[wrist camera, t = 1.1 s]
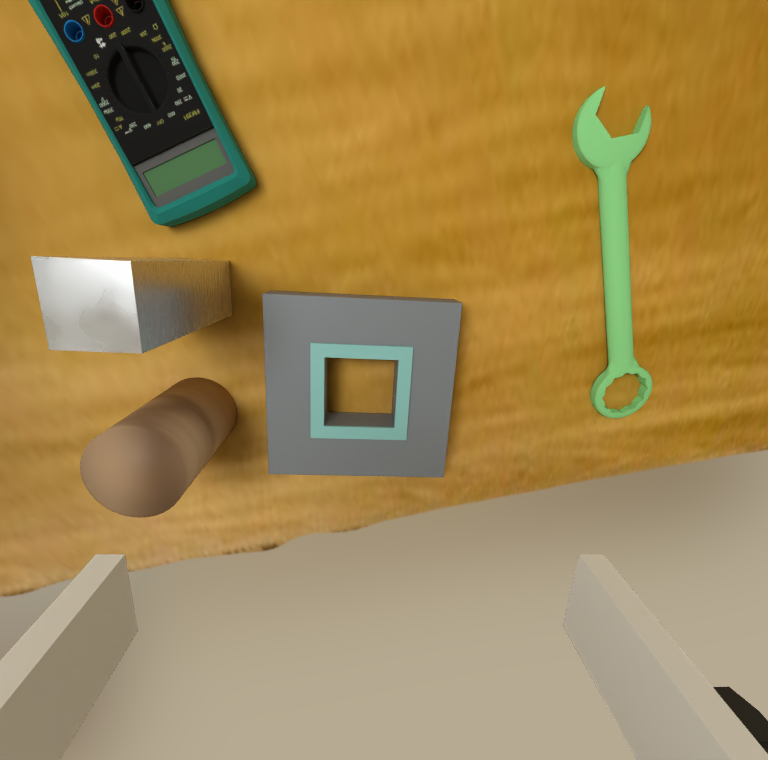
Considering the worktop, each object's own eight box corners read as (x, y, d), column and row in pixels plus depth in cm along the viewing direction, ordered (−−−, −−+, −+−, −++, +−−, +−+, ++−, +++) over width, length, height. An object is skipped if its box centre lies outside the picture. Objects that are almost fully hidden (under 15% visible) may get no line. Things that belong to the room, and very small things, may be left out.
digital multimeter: (145, -57, 24) (117, -99, 21) (262, 189, 28) (251, 182, 26) (42, -2, 25) (1, -36, 22) (172, 232, 29) (151, 229, 26)
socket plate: (276, 457, 34) (268, 475, 31) (271, 290, 30) (261, 293, 27) (437, 460, 35) (444, 478, 32) (453, 299, 31) (463, 303, 28)
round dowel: (168, 442, 33) (88, 516, 24) (160, 376, 31) (71, 427, 22) (238, 444, 33) (189, 517, 24) (234, 378, 32) (180, 429, 22)
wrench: (634, 86, 28) (561, 102, 28) (654, 73, 26) (576, 90, 26) (645, 407, 35) (586, 420, 35) (661, 415, 33) (599, 429, 33)
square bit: (178, 312, 30) (49, 349, 18) (173, 257, 29) (30, 256, 16) (232, 315, 30) (142, 353, 18) (229, 260, 29) (130, 261, 17)
